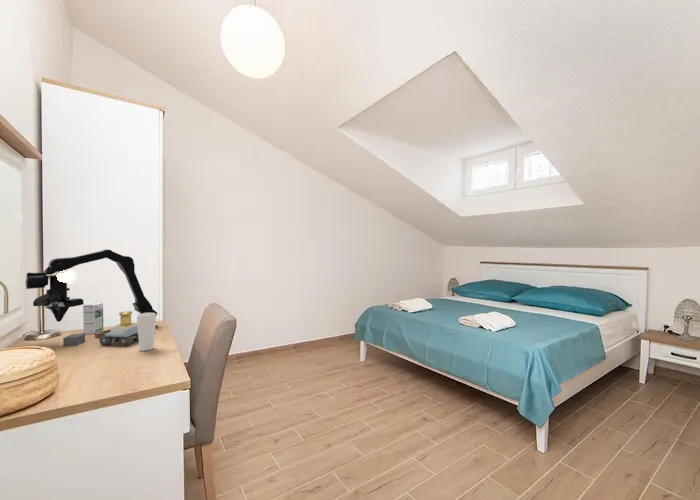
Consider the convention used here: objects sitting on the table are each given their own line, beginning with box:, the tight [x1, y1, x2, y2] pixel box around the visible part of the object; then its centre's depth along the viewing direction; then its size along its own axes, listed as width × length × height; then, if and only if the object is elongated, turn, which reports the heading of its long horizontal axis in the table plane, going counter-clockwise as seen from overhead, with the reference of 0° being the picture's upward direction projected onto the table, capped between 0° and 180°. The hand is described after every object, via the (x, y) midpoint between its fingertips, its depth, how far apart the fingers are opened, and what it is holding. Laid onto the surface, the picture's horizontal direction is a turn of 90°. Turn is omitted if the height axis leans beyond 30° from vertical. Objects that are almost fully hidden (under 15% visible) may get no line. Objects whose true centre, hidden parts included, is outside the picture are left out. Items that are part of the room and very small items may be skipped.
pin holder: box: [94, 329, 111, 339], centre depth 156 cm, size 8×8×2 cm
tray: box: [110, 322, 137, 333], centre depth 147 cm, size 8×8×3 cm
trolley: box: [98, 326, 139, 347], centre depth 146 cm, size 10×13×7 cm
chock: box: [62, 333, 86, 347], centre depth 144 cm, size 6×5×4 cm
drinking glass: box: [136, 313, 157, 352], centre depth 137 cm, size 7×7×15 cm
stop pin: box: [119, 310, 133, 327], centre depth 147 cm, size 5×5×8 cm
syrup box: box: [82, 302, 104, 335], centre depth 162 cm, size 6×6×14 cm
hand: (58, 321), depth 144 cm, fingers closed
